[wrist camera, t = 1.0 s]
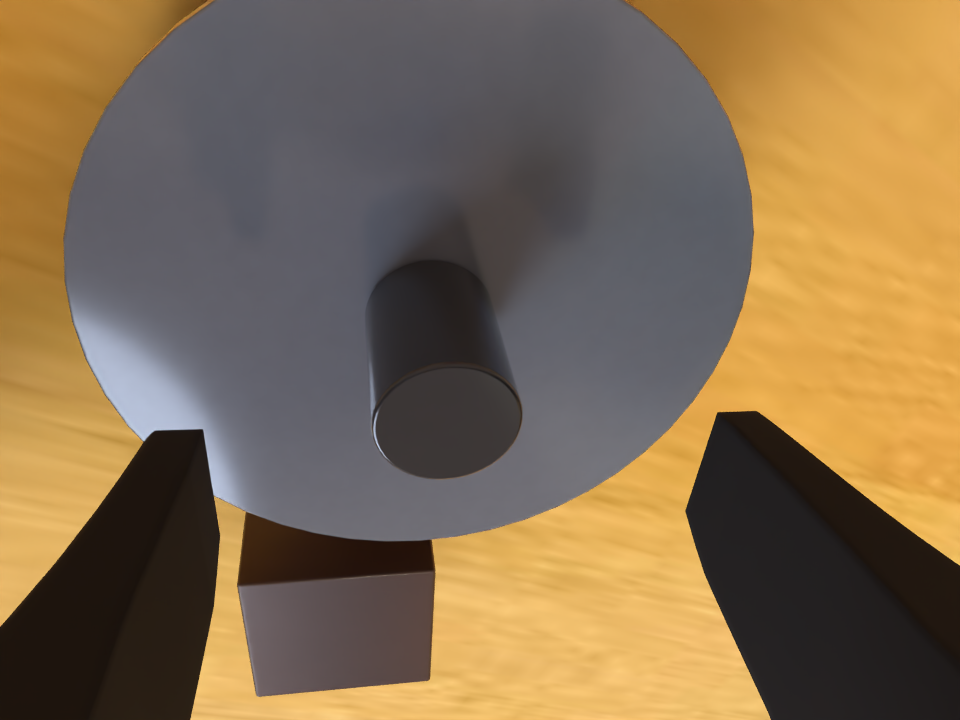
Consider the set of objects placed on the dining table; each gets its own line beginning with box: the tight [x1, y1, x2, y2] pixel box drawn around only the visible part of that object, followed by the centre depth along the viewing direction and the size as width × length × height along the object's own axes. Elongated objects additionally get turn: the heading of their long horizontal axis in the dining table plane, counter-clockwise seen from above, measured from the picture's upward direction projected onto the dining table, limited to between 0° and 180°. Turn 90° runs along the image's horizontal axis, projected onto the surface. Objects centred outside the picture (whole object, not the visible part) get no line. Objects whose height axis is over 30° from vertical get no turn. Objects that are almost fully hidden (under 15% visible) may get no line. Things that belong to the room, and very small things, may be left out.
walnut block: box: [237, 512, 435, 697], centre depth 24 cm, size 5×5×5 cm
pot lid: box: [63, 0, 754, 541], centre depth 14 cm, size 13×13×4 cm
